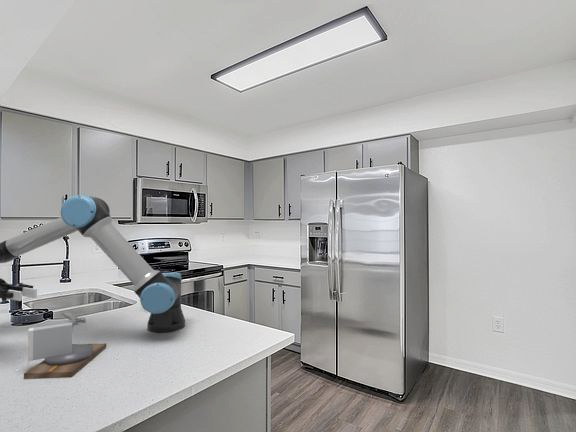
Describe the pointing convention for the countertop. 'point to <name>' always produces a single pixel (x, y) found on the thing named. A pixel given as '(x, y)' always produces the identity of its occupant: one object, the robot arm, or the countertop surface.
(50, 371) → the dial board
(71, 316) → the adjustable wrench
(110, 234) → the robot arm
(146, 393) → the countertop surface
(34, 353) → the grey panel and disc
